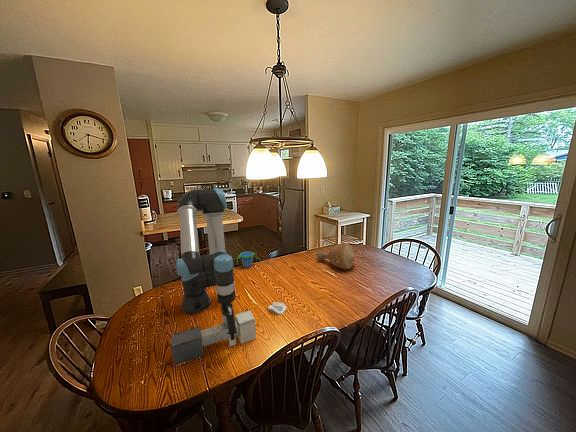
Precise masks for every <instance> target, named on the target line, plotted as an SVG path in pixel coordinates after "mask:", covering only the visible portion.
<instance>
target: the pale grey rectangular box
mask: <svg viewBox="0 0 576 432" xmlns="http://www.w3.org/2000/svg"><path fill="white" fill-rule="evenodd" d="M235 326H236V331H237V333H236V334H235V335H236V336H238V335H239V334H240V328H239V323H238V321H237V320H236V319H235ZM200 331H201V336H202V344H203V347H206V346H209V345H212V344H215V343H217V342H221V341H224V340H226V339H229V335H228V334H227V333H228V332H229V329H228V324H227V323H224V324H223V323H222V324H218V325H215V326H211V327H208V328H206V329H205V328H204V329H203V330H201V329H200Z"/></svg>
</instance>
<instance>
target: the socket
mask: <svg viewBox="0 0 576 432" xmlns="http://www.w3.org/2000/svg"><path fill="white" fill-rule="evenodd" d="M234 319H235V320H237V321H238V323H239V328H240V334H239V335H237V338H238V340H239V342H240V344H241V345H243V344H245V343H247V342H250V341H253V340H255V339H257V331H256V330H257V329H256V327H257V326H256V319H255V317H254V314H253V313H252V311H251V310H250V309H249V310H245V311H243V312H239V313H236V314H235V313H234Z"/></svg>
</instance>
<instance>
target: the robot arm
mask: <svg viewBox="0 0 576 432" xmlns="http://www.w3.org/2000/svg"><path fill="white" fill-rule="evenodd" d="M226 209H228V205H227V199H226V196H225V192H224V190H223V189H222V188H202V189H198V188H197V189H191V190H188V191H187V192H185V193H184V194H183V195H182V196H181V198H180V199H179V200H178V203H177V205H176V213H177V216H179V231H180V232H179V233H180V237H179V239H180V254H181V258H178V259H176V261H175V263H176V264H175V267H176V274H177V275H178V277H181V279H180V280H181V284H182V291H183V298H182V302H181V311H182V310H183V311H184V312H186V313H185V314H187V313H195V314H198V312H199V313H202V312H204V311H206V310H208V308H210V306H211V297H210V296H209V294H208V291H207V288H212V287H215V291H216V301H217V302H218V304H220V311H221V315H222V316H221V318H222V324H224V323H227V324H228V329H229V332H228V333H227V334H228V335H229V338H228V344H229V345H228V346H229V347H232V346H235V345H237V338H236V336H237V335H235V334H236V333H237V331H236V326H235V320H236V318H235V313H234V308H233V305H234V304H233V302H234V301H235V299H236V290H235V289H236V288H235V285H236V281H235V277H234V276H235V273H234V261H233V257H232V256H231V255H229V254H228V252H226V244H225V233H224V232H225V230H224V222H223V215H224V214H225V210H226ZM201 211H202V215H203V216H205V222H206V229H207V240H208V251H209V253H208V254H203V255H200V247H199V246H200V245H199V236H198V225H197V214H198V212H201ZM205 309H206V310H205ZM203 310H204V311H203ZM183 311H182V312H183ZM201 311H202V312H201ZM184 312H183V313H184Z"/></svg>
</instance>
